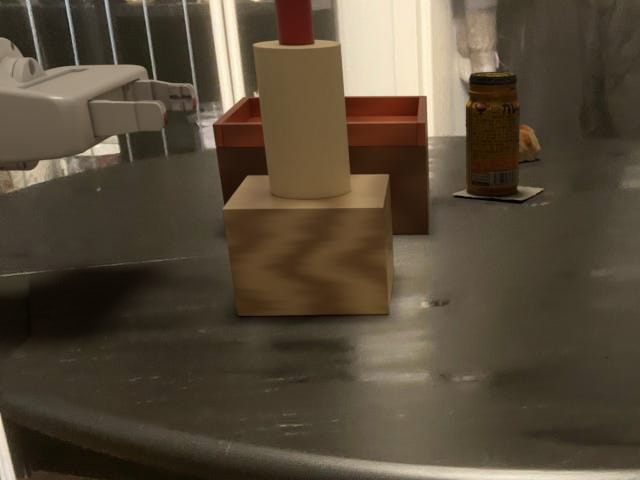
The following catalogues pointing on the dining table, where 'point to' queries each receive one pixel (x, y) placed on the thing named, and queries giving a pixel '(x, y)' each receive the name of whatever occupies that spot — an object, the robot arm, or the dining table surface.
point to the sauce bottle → (302, 108)
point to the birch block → (311, 250)
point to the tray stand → (363, 144)
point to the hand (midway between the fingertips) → (180, 106)
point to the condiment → (493, 138)
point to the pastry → (528, 144)
